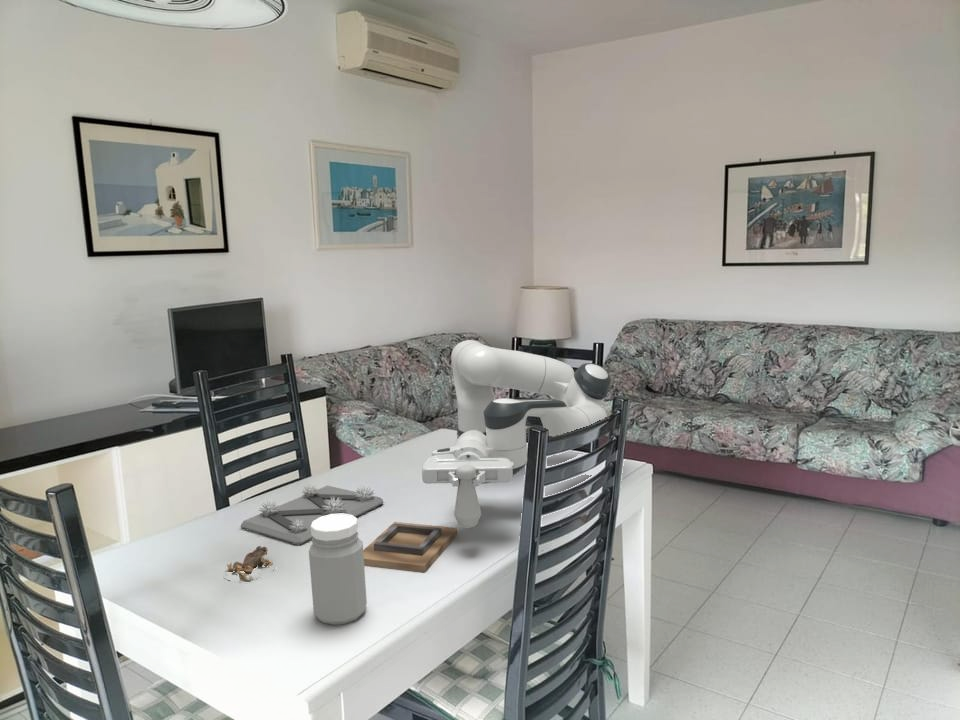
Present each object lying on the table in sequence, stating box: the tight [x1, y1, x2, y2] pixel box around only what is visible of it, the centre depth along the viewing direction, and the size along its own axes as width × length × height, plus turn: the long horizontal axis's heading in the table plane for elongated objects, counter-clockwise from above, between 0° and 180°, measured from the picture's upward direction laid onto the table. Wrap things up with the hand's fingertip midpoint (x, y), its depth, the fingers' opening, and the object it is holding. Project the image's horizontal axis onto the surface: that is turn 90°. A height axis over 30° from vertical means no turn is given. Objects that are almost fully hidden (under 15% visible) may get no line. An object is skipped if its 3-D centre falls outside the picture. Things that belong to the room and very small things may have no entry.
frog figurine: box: [225, 545, 276, 583], centre depth 150 cm, size 12×12×4 cm
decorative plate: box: [240, 484, 384, 545], centre depth 179 cm, size 30×22×7 cm
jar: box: [308, 513, 368, 626], centre depth 130 cm, size 10×10×18 cm
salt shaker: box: [453, 465, 482, 529], centre depth 152 cm, size 6×6×13 cm
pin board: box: [363, 521, 458, 573], centre depth 158 cm, size 20×16×3 cm
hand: (465, 482), depth 151 cm, fingers closed on salt shaker, 3 cm apart
